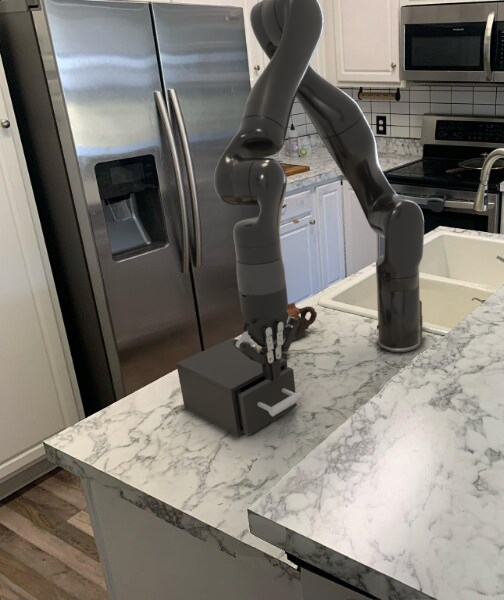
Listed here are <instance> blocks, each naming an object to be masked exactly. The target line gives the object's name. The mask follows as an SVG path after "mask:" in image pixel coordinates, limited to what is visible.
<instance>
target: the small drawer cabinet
mask: <svg viewBox="0 0 504 600" xmlns="http://www.w3.org/2000/svg"><path fill="white" fill-rule="evenodd" d="M235 339H236V338H234V337H231V338H229V339H226V340H224V341H222V342H220V343H218V344H215V345H213V346H211V347H209V348H207V349H204V350H203V351H200V352H198V353H196V354H193V355H191V356H189V357H187V358H184V359H182V360H179V361H178V362H176V368H177V369H176V370H177V374H178V380H179V385H180V390H181V397H182V400H183V401H182V402H183V406H184V409H185V410H188V411H189V412H191V413H193V414H194V415H196V416H198V417H199V418H202V419H204V420H206V421H207V422H210V423H211V424H213V425H215V426H217V427H218V428H219V429H220V428H221V429H222V430H224V431H226V432H228V433H229V434H231V435H233V436H235V437H237V438H239V437H240V436H243V435H244V434H245V433H244V429H243V427H241V426H240V421H239V414H238V408H237V401H236V394H235V391H237V390H238V389H240V388H242V387H244V386H246V385H248V384H250V383H252V382H253V381H255V380H257V379H259V378H261V377H263V370H262V364H260V363H258V362H256V361H253V360H251V359H250V358H248V357H247V356H246V355H244V354H243V353H242V352H241V351H239V350H238V349H237V348H236V347H234V346H233V341H234V340H235ZM252 348H254V349H255V350H256V351H257V348H256V347H255V345H253V346H252ZM257 352H258V351H257ZM280 364H281V371H283V370H284V369H286V368H288V367H289V366H288V360H287V358H286V359H283V358H280Z"/></svg>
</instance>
